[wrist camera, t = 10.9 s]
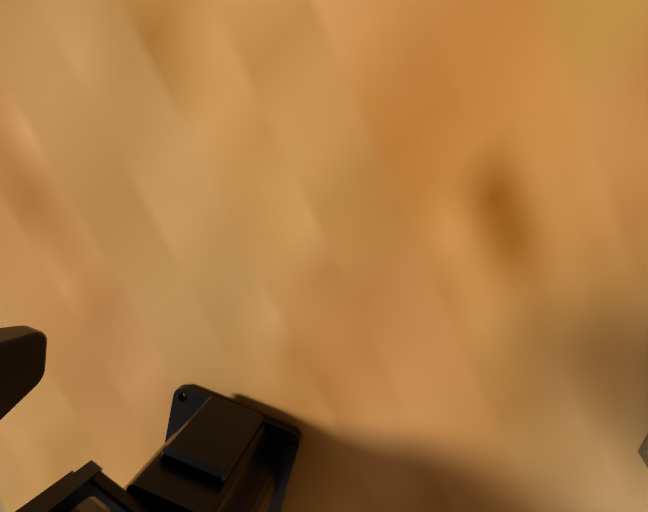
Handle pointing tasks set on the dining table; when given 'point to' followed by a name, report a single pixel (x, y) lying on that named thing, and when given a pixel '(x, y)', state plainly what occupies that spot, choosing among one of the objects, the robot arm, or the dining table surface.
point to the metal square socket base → (644, 451)
